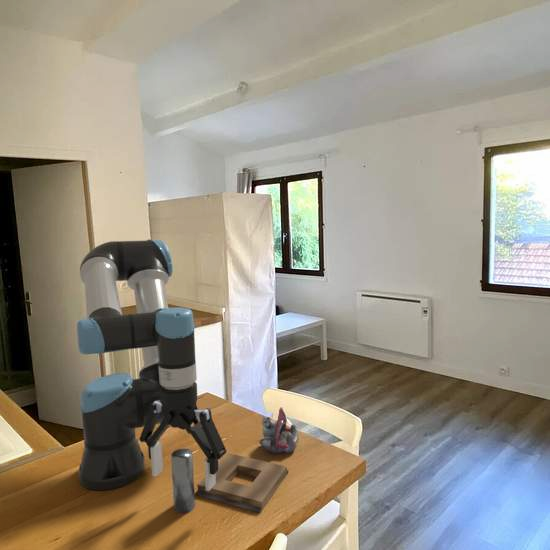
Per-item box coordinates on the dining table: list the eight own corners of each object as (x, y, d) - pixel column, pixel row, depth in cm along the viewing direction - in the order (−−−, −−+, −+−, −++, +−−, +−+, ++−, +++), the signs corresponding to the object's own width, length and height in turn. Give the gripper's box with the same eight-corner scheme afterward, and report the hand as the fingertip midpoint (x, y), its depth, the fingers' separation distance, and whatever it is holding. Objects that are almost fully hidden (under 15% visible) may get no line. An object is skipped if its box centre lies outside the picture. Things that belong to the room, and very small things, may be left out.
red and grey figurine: (302, 451, 109) (273, 413, 110) (269, 472, 112) (241, 434, 113) (309, 430, 120) (283, 395, 121) (279, 449, 123) (253, 415, 123)
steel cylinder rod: (169, 510, 92) (166, 457, 90) (182, 497, 96) (179, 446, 94) (187, 515, 90) (184, 461, 88) (199, 502, 94) (196, 450, 92)
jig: (195, 494, 97) (195, 486, 97) (230, 458, 111) (230, 451, 111) (260, 513, 90) (260, 504, 90) (288, 472, 104) (288, 464, 104)
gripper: (118, 382, 91) (125, 476, 93) (221, 398, 81) (225, 504, 83) (142, 370, 98) (148, 459, 100) (240, 384, 88) (243, 482, 90)
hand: (183, 480), depth 92 cm, fingers open, 13 cm apart
